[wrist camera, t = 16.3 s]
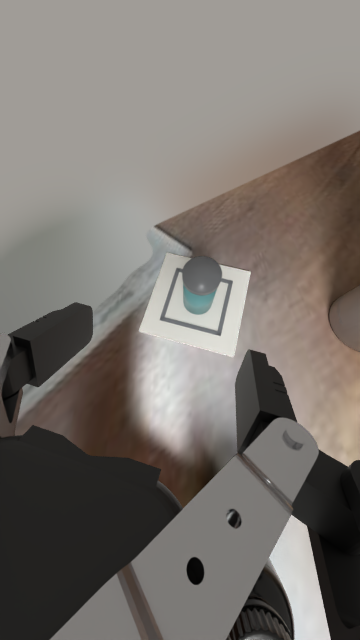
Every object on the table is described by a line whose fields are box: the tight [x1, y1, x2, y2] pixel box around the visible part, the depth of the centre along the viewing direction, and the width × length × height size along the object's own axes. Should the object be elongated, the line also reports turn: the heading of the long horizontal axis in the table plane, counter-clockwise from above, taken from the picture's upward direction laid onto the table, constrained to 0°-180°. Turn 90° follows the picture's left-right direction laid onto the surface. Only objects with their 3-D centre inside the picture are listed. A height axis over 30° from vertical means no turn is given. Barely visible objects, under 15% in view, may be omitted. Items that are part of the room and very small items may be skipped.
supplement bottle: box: [229, 558, 294, 640], centre depth 17 cm, size 7×7×12 cm
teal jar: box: [182, 256, 222, 315], centre depth 28 cm, size 5×5×8 cm
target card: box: [139, 253, 251, 357], centre depth 32 cm, size 14×14×1 cm
